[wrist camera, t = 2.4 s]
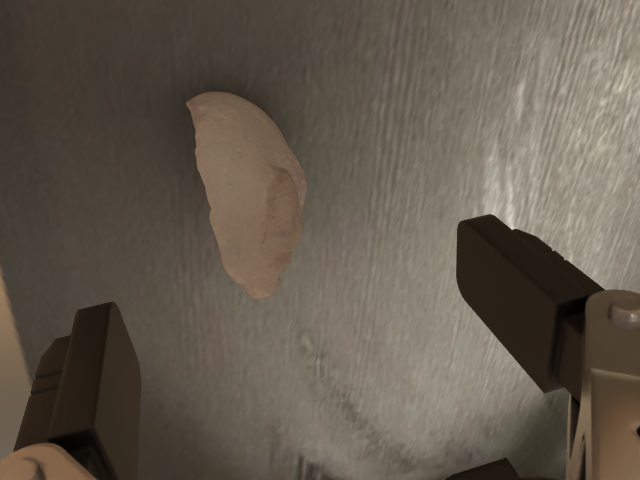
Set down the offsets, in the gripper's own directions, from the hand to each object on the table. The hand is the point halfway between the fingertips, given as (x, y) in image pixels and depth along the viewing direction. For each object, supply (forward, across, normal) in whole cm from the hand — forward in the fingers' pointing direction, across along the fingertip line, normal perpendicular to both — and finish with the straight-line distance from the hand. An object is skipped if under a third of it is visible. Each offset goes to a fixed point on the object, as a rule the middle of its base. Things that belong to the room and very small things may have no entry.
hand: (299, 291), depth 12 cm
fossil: (+12, 0, 0) cm, 13 cm away
